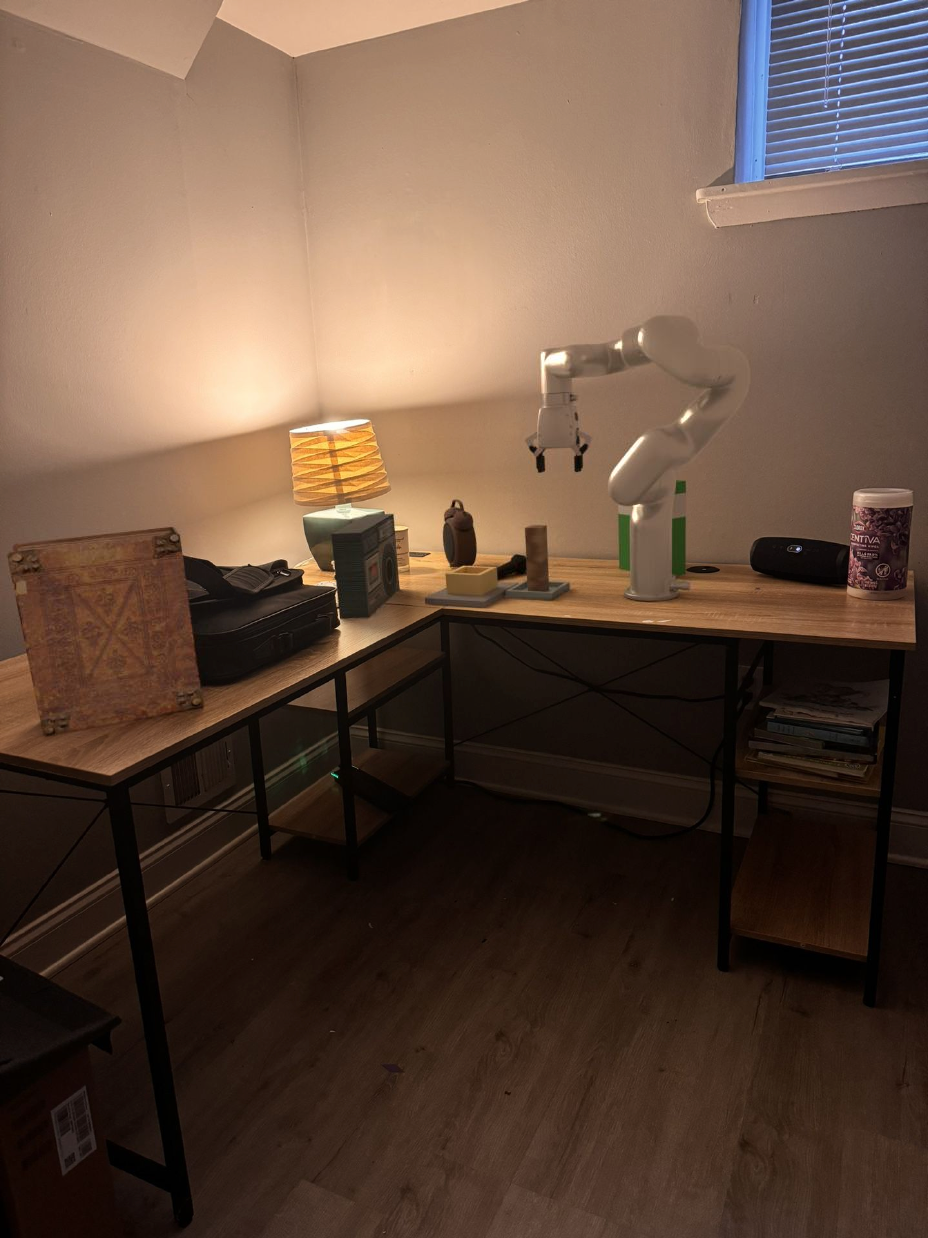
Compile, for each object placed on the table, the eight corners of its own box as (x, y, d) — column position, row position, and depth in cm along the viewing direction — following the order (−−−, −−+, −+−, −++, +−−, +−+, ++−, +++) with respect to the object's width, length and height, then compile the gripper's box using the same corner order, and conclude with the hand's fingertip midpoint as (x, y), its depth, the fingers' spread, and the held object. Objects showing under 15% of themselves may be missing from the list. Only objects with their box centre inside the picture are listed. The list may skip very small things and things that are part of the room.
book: (41, 737, 137) (4, 552, 130) (45, 719, 146) (10, 544, 138) (205, 707, 146) (179, 532, 139) (199, 691, 155) (175, 526, 147)
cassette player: (368, 618, 199) (360, 532, 194) (339, 619, 200) (331, 533, 195) (399, 589, 226) (393, 513, 221) (374, 590, 228) (367, 514, 222)
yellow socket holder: (518, 588, 218) (517, 563, 216) (484, 607, 201) (482, 580, 199) (462, 585, 225) (461, 561, 224) (424, 603, 208) (422, 577, 207)
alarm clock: (441, 567, 251) (436, 498, 246) (464, 564, 253) (460, 496, 248) (455, 576, 238) (450, 503, 233) (480, 572, 240) (476, 501, 234)
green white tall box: (619, 568, 234) (617, 479, 228) (640, 564, 237) (639, 476, 231) (663, 578, 219) (663, 483, 213) (685, 574, 222) (685, 480, 216)
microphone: (478, 597, 225) (532, 574, 237) (479, 578, 222) (534, 555, 234) (464, 588, 229) (518, 566, 240) (465, 569, 226) (520, 548, 237)
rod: (549, 589, 212) (546, 525, 208) (542, 593, 209) (540, 527, 205) (534, 588, 214) (531, 524, 210) (527, 592, 211) (524, 527, 206)
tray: (569, 589, 214) (569, 582, 213) (552, 600, 204) (551, 593, 203) (525, 586, 219) (525, 579, 219) (505, 597, 209) (505, 590, 209)
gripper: (596, 398, 209) (597, 469, 213) (530, 402, 216) (533, 470, 221) (586, 399, 202) (587, 473, 206) (518, 403, 210) (521, 474, 214)
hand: (559, 471), depth 214 cm, fingers open, 9 cm apart
